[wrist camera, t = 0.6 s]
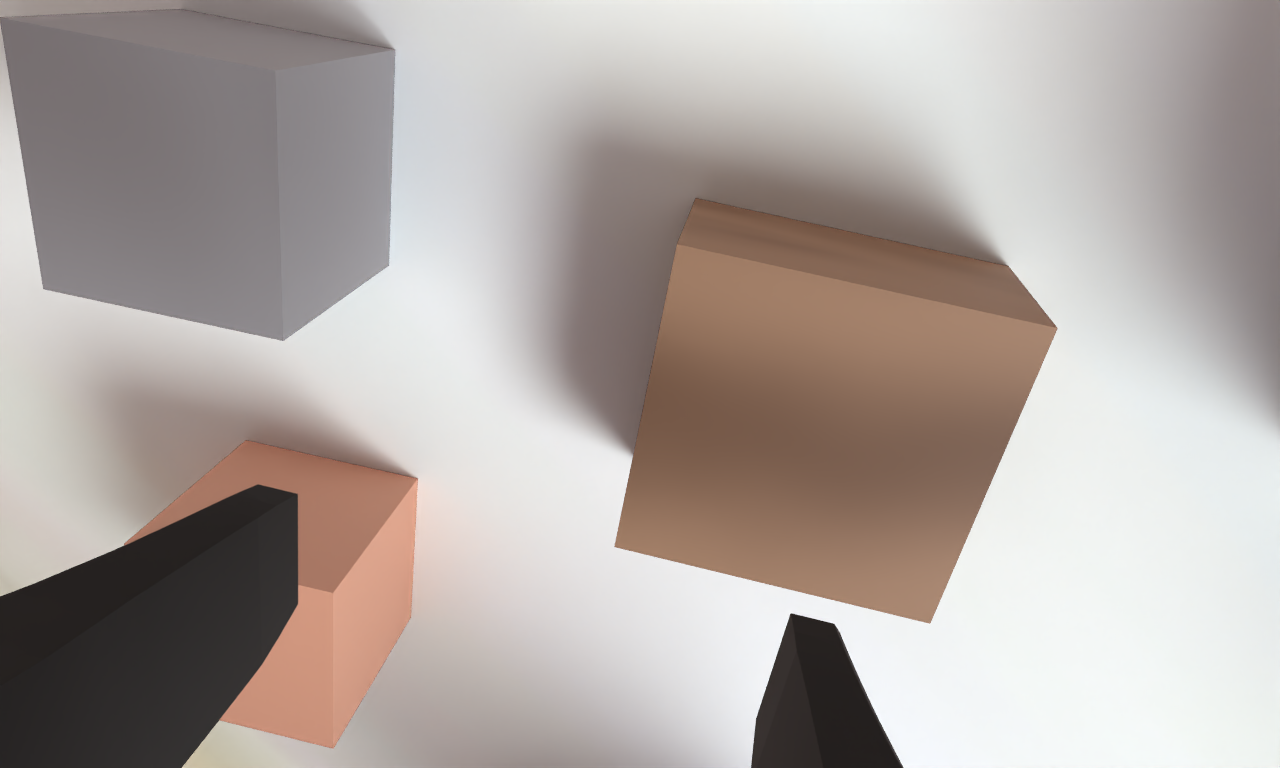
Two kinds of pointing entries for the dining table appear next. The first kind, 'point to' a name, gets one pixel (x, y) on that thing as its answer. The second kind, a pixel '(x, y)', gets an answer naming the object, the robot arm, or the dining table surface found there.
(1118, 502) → the dining table surface
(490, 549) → the dining table surface
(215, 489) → the terracotta cube
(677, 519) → the walnut block
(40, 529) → the dining table surface
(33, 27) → the slate cube
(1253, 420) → the dining table surface
